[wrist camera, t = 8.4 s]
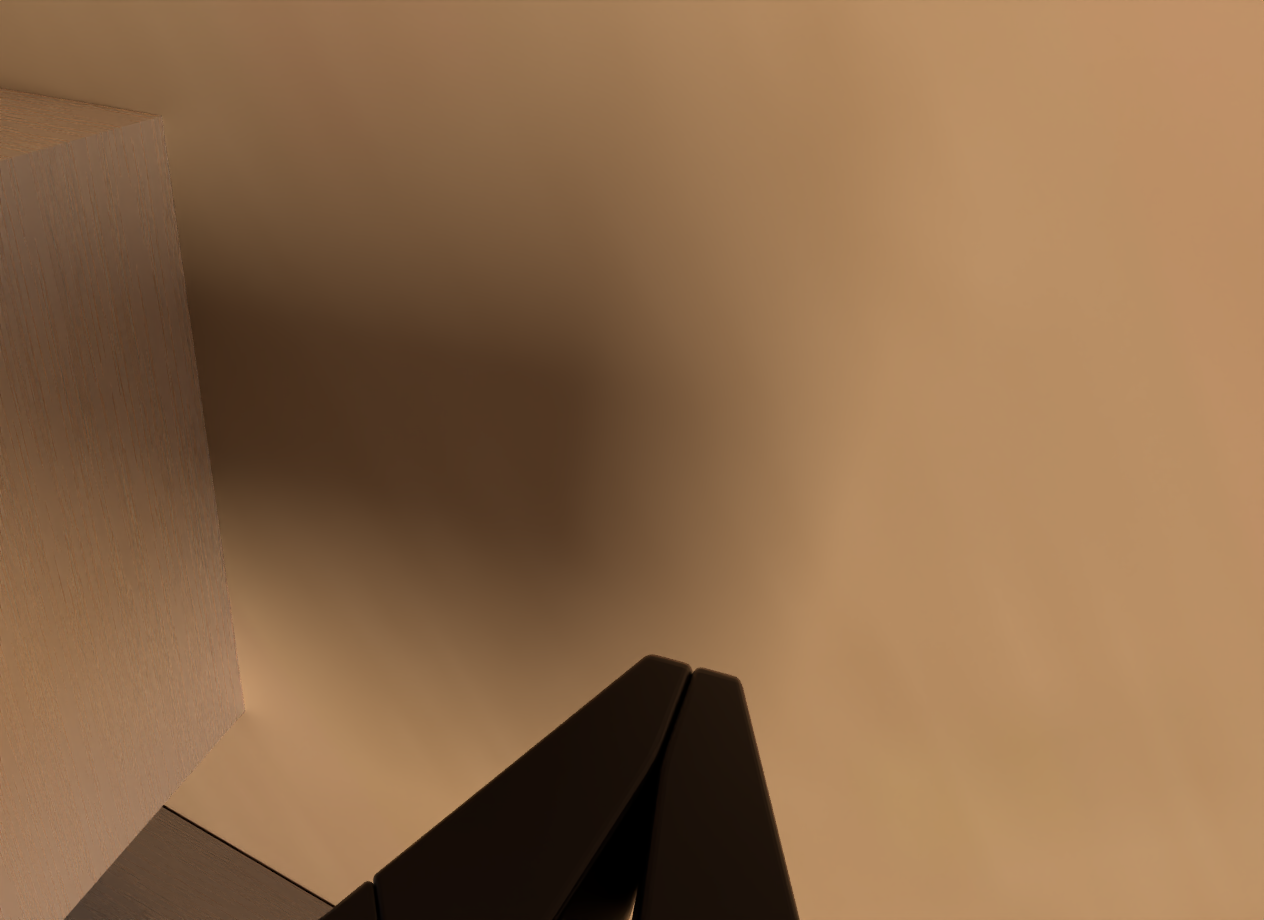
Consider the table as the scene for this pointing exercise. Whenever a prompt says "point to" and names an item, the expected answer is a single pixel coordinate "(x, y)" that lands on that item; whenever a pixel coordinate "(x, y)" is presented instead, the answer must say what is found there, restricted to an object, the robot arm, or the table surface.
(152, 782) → the block
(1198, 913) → the table surface
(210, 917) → the guide bracket
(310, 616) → the table surface
